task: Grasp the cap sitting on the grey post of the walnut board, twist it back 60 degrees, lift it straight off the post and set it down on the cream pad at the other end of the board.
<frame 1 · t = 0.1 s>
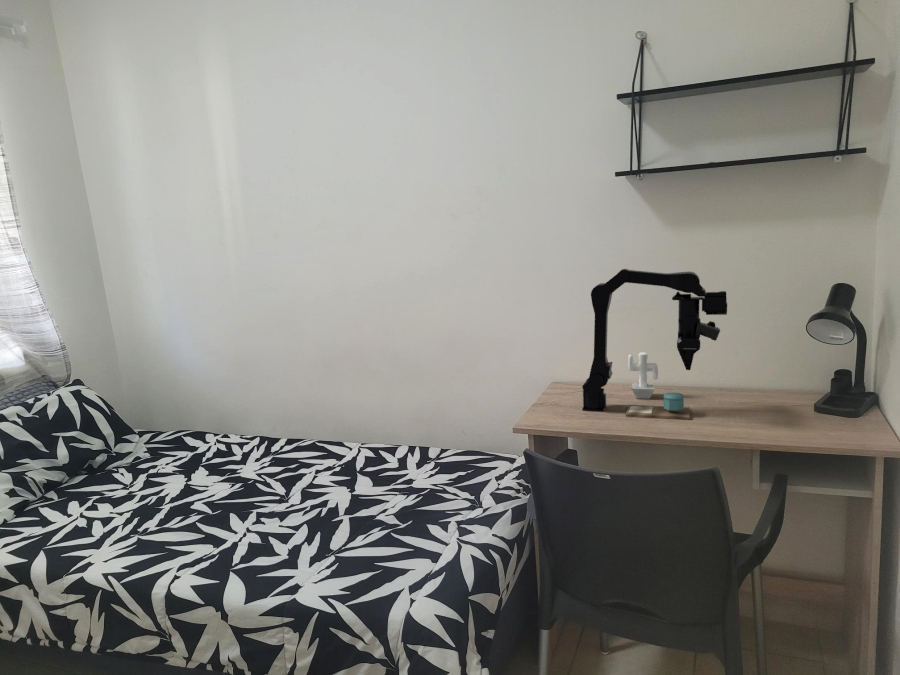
hand: (688, 366, 185), 14 cm above the table, fingers open, 9 cm apart
figurine: (643, 397, 207), on the table
board: (657, 413, 189), on the table
cap: (673, 407, 187), point 2 cm above the table, touching board
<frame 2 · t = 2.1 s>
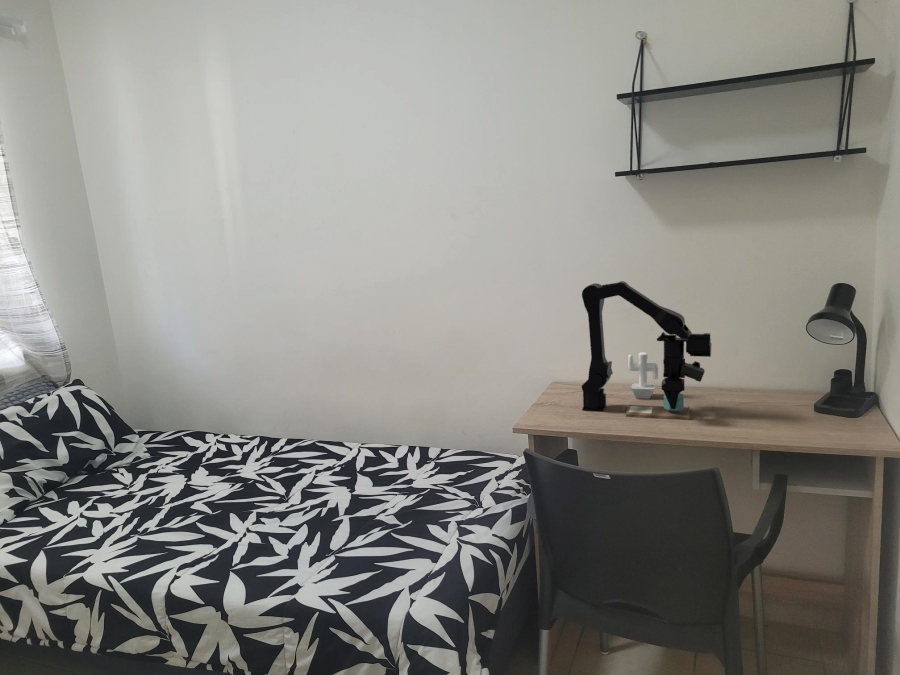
hand: (673, 406, 187), 3 cm above the table, fingers closed on cap, 6 cm apart
cap: (673, 407, 187), point 2 cm above the table, touching board, gripper
everything else where it was.
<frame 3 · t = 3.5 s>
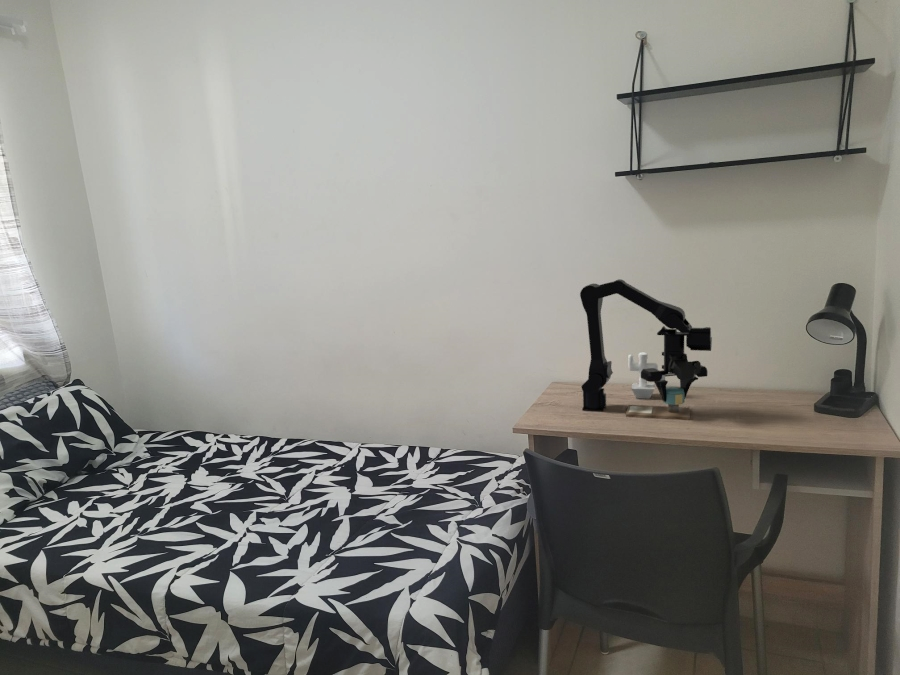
hand: (673, 400, 186), 4 cm above the table, fingers closed on cap, 6 cm apart
cap: (673, 401, 186), point 4 cm above the table, touching gripper
everything else where it was.
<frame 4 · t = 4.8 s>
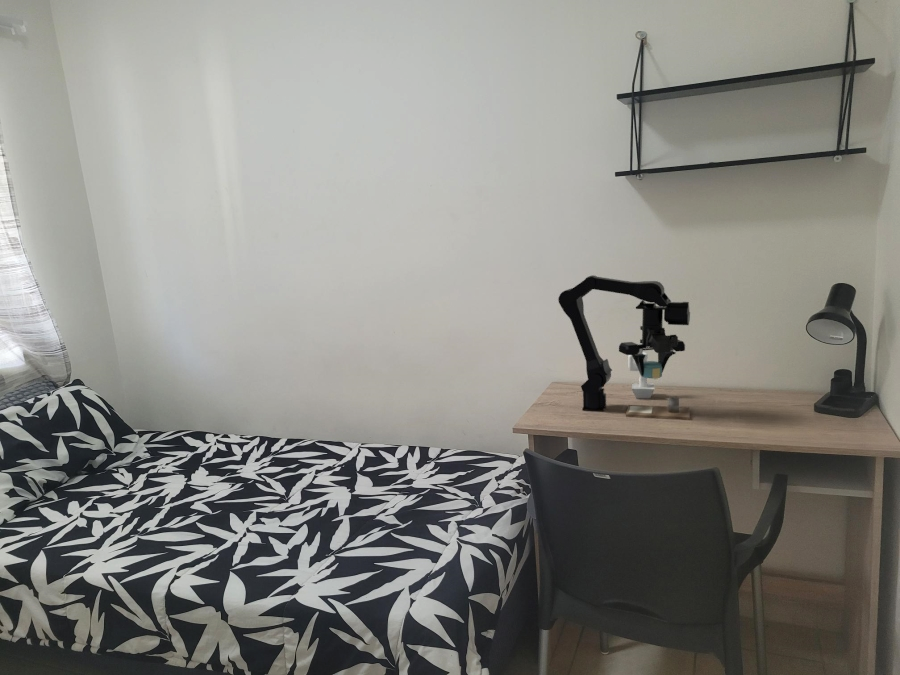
hand: (651, 374, 187), 12 cm above the table, fingers closed on cap, 6 cm apart
cap: (651, 376, 187), point 12 cm above the table, touching gripper
everything else where it was.
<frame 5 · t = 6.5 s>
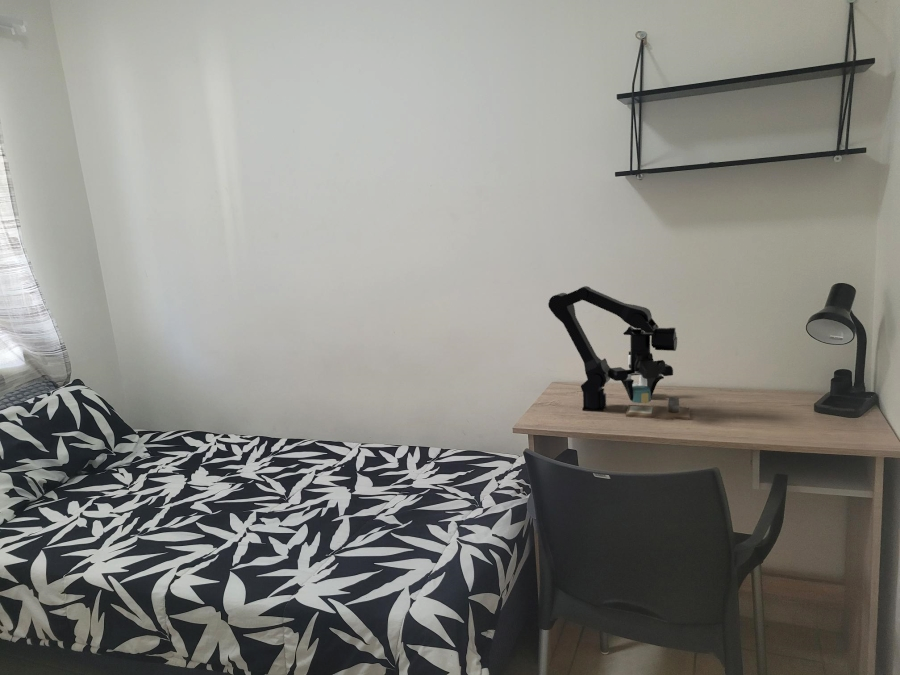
hand: (640, 399, 190), 4 cm above the table, fingers closed on cap, 6 cm apart
cap: (640, 400, 190), point 4 cm above the table, touching gripper
everything else where it was.
when the fingers open (3 cm above the table, at t = 7.7 s): cap drops 1 cm, resting on board.
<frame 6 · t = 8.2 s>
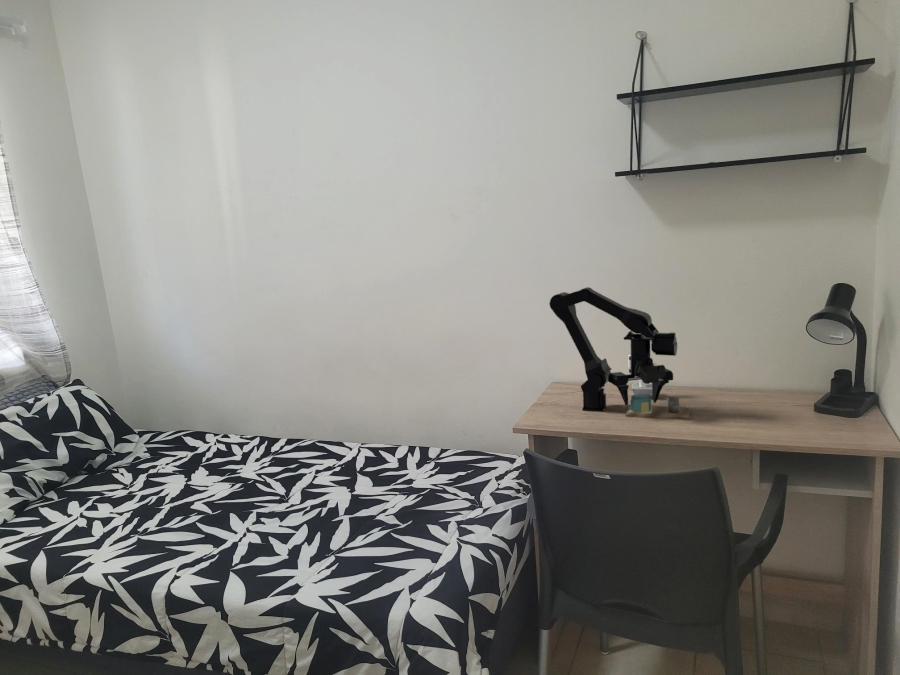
hand: (640, 403, 190), 3 cm above the table, fingers open, 9 cm apart
cap: (640, 409, 190), point 1 cm above the table, touching board
everything else where it was.
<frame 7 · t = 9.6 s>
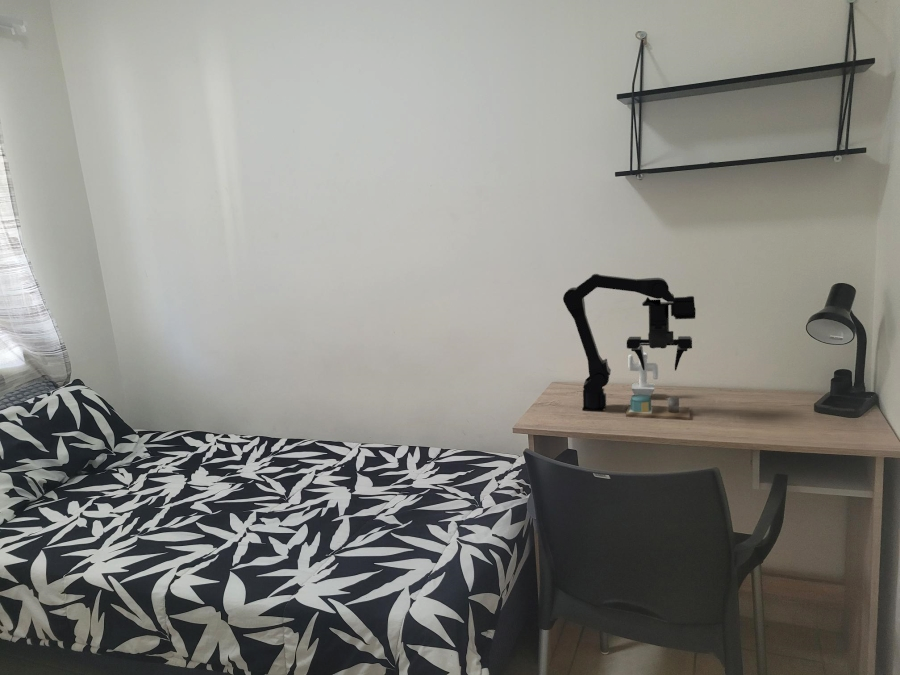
hand: (659, 370, 190), 13 cm above the table, fingers open, 9 cm apart
nothing on the table moved.
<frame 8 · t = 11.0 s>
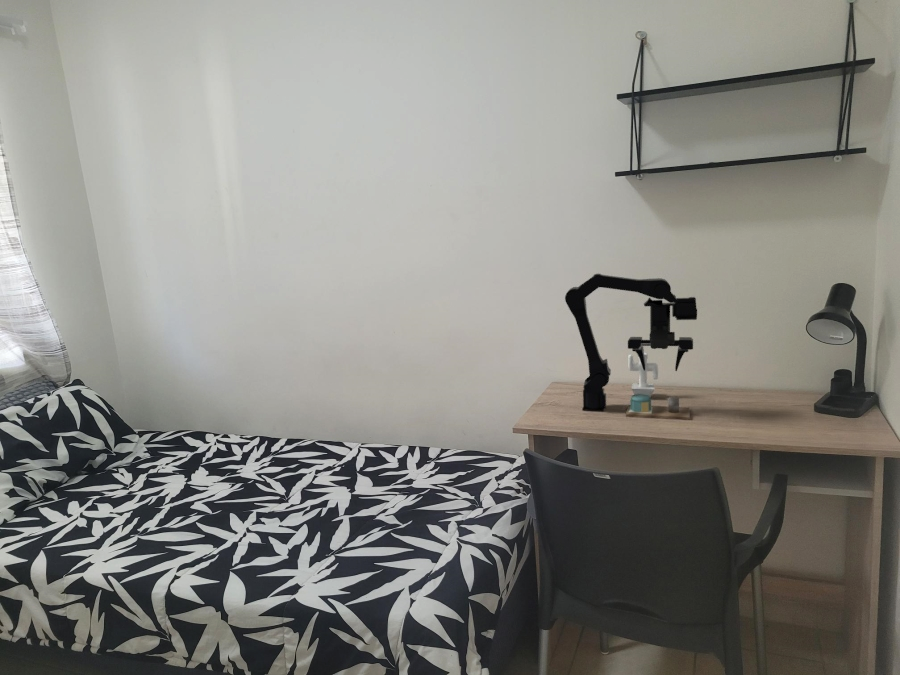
hand: (660, 370, 190), 12 cm above the table, fingers open, 9 cm apart
nothing on the table moved.
at the end: cap 0.0 cm from the target spot on the board, point 1.0 cm above the board's base; cap tilted 0°; the gripper is holding nothing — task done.
